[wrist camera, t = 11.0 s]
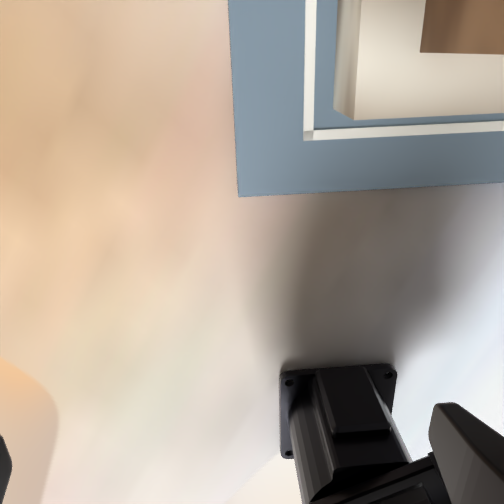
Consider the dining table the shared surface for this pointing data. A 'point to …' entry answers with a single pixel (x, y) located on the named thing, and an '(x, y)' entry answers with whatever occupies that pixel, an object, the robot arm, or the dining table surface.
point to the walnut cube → (463, 27)
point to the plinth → (406, 67)
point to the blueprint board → (334, 116)
